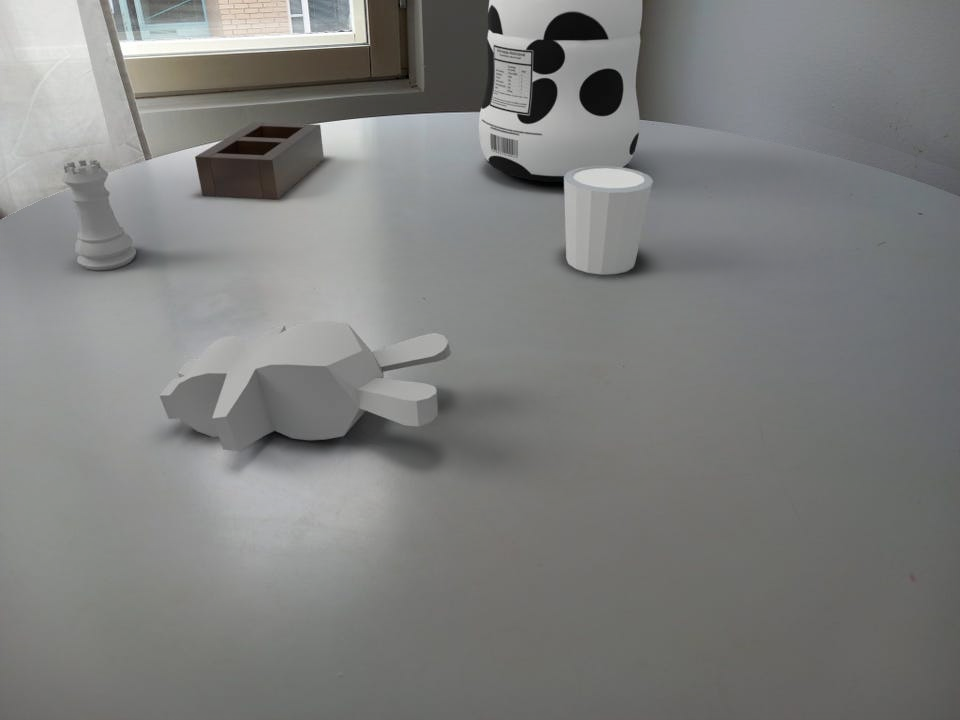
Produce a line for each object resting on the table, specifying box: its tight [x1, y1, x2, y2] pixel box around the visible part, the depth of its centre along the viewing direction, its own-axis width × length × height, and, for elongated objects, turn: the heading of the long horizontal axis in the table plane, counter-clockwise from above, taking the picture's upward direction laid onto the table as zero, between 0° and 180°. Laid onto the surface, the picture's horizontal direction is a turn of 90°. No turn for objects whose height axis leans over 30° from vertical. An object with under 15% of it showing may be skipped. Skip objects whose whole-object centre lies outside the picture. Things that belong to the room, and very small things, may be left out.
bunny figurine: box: [159, 320, 452, 452], centre depth 41 cm, size 10×5×15 cm
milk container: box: [478, 0, 643, 183], centre depth 78 cm, size 17×17×18 cm
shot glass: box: [563, 166, 654, 275], centre depth 59 cm, size 7×7×7 cm
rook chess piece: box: [61, 159, 137, 271], centre depth 59 cm, size 4×4×8 cm
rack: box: [194, 121, 325, 200], centre depth 80 cm, size 8×14×4 cm, turn 172°
